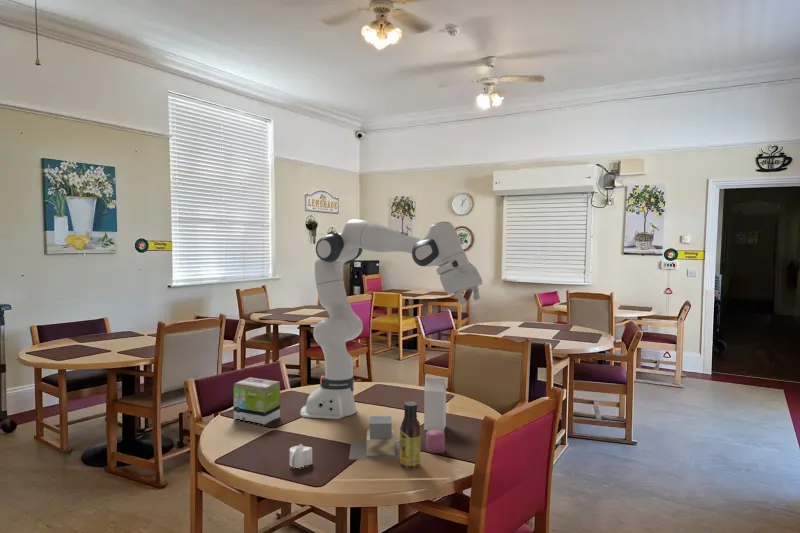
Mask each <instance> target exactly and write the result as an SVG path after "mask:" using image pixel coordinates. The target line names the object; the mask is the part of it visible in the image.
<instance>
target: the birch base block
mask: <svg viewBox="0 0 800 533" xmlns="http://www.w3.org/2000/svg"><path fill="white" fill-rule="evenodd" d="M395 438H396V437H395V429H392V439H370V429H367V430H366V441H365V442H366V456H390V455H395V441H396V439H395Z"/></svg>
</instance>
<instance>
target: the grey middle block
mask: <svg viewBox="0 0 800 533" xmlns="http://www.w3.org/2000/svg"><path fill="white" fill-rule="evenodd" d="M392 427H393V426H392V416H391V415H382V416H381V415H379V416H378V415H373V416H372V415H369V430H370V439H392V430H393V428H392Z"/></svg>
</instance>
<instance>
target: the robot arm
mask: <svg viewBox="0 0 800 533" xmlns="http://www.w3.org/2000/svg"><path fill="white" fill-rule="evenodd" d="M363 250H365V251H369V252H373V253H376V252H377V253H388V252H389V253H391V252H392V253H393V252H403V253H404V252H405V253H409V254H411V257H412V260H413V261H414V263H415V264H416V265H417V266H420V267H425V268H426V267H437V266H438V267H437V269H436V273H437V275H439V280H440V282H441V285H442V288H443V290H444V292H445V293H446V294H447V295H451V294H453V295H454V297H455V298H456V299H457V300H458V302H459V304H460V305H464V304H467V299H466V297H464V296H463V294H462V291H466V290H469V289H471V291H472V293H473V294H472V298H473V300H474V301H477V300H480V299H481V296H480V294H479V293H480V288H479V286H481V285H483V279H482V276H481V275H480V273H479V272H480V271H479V270H478V269H477V267H476V266H475V265H473V264H472V263H471V261H470V262H469V259H468V256H467V253H466V251H465V250H464V249H463V247H462V242H461V239H460V237H459V235H458V232H457V230H456V228H455V227H454V225H453V223H451V222H449V221H440V222H435V223H433V224H432V225H430V226H429V229H428V231H427V232H426V234H425V235H424V236H423V237H422V238H419V237H414V236H411V235H407V234H405V233H404V234H403V233H401V232H399V231H396V230H394V229H392V228H389V227H388V226H385V225H383V224H380V223H376V222H373V221H369V220H365V219H350V220H348V221H347V222H346V223H345V224H344V226H343V229H342V231H341V232H340V233H338V232H333V233H330V234H327V235H325V236H324V235H323V236H322V237H320V238H319V239H318V240H317V242H316V244H315V253H316V256H317V259H316V260H315V262H314V279H315V285H316V290H317V297H318V302H319V305H321V307H323V308H324V309H325V310H326V312H327V313H328V315H329V317H326V318H323V319H322V320H320V321H319V322H317V323H316V324H315V325H314V328H313V330H312V336H313V338H314V340H315V342H316V344H318V345H319V347H321V349H322V352H323V356H324V372H325V374H324V375H321V377H320V378H319V379H320V380H319V385H320V386H319V387H318V388H316V389H315V390H314V391H312V392H311V393H310V394H309V396H308V397H307V400H306V402H305V403H306V404H305V405H304V406H302V408H301V409H300V412H299V414H300V416H301V417H302V418H313V419H327V420H328V419H329V420H340V419H342V418H346V417H348V416H352V415H355V413H357V406H356V402H355V397H354V396H355V395H354V390H355V378H354V375H353V373H354V369H353V368H354V367H353V366H354V365H353V355H351V354H350V353H349V351H348V349H347V344H346V343H347V342H349V341H352V340H355V339H356V338H357V337H359V336H360V335H361V333H362V332H363V330H364V324H363V321H362V319H361V318H360V317H359V316H358V315H357V314H356V313H355V312H354V310H353V309H352V307H351V306H352V305H351V304H350V302H349V299H348V296H347V291H346V288H345V282H344V278H343V274H342V269H343V268H342V267H343V266H344V265H349V264H350V263H352V262H354V261H355V260H356V259H358V258H359V257H361V255H362V252H363Z"/></svg>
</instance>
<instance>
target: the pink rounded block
mask: <svg viewBox="0 0 800 533" xmlns="http://www.w3.org/2000/svg"><path fill="white" fill-rule="evenodd" d="M445 436H446V434H445V431H444V432H443V431H441V430H426V435H425V437H426V440H425V441H426V442H425V443H426V444H425V447H426V451H427V452H428V453H430V454H441V453H442V454H444V453H445V446H446V444H445V443H446V442H445V441H446V440H445V439H446V437H445Z"/></svg>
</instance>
